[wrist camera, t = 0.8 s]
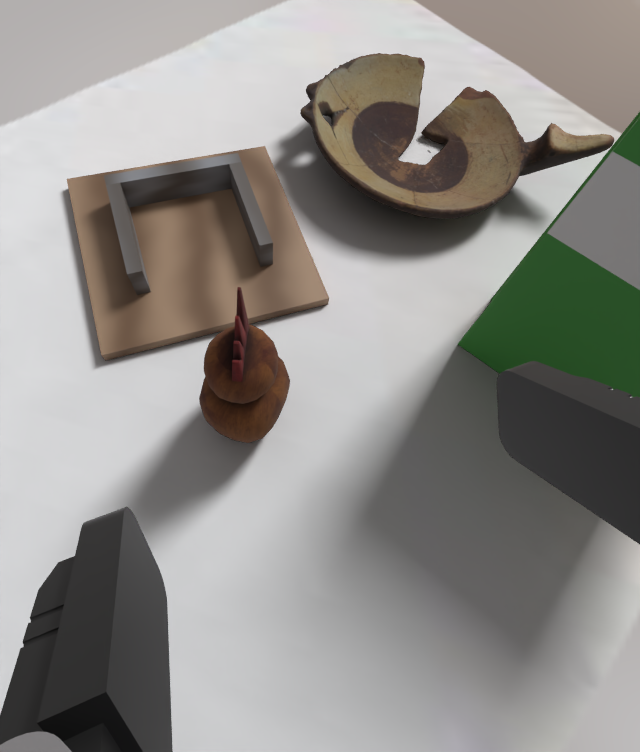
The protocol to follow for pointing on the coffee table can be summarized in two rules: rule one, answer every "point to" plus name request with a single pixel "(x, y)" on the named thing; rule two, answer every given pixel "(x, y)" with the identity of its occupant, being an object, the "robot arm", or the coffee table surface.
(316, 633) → the coffee table surface
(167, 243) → the keeper cradle
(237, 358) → the wooden figurine
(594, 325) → the hardback book
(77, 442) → the coffee table surface
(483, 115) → the oil lamp
